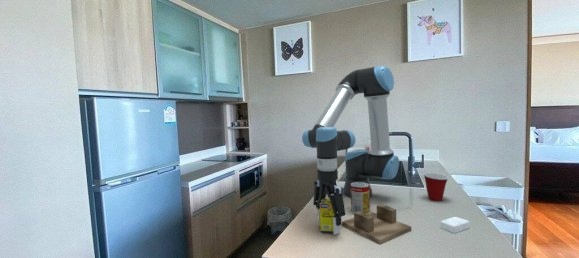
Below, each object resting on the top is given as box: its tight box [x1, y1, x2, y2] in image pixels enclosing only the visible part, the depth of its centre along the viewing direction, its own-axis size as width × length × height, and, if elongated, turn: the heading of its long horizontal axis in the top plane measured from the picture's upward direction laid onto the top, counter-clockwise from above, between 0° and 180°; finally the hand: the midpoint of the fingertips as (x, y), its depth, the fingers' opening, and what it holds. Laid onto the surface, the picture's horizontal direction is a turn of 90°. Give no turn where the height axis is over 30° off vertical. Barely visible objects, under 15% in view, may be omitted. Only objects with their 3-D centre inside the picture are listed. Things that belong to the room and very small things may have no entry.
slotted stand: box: [341, 204, 412, 245], centre depth 97 cm, size 18×17×6 cm
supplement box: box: [319, 198, 335, 234], centre depth 97 cm, size 6×6×11 cm
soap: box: [439, 216, 470, 234], centre depth 95 cm, size 9×6×3 cm, turn 114°
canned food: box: [350, 182, 371, 214], centre depth 114 cm, size 8×8×12 cm
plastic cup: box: [423, 172, 450, 202], centre depth 125 cm, size 11×11×12 cm
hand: (329, 228), depth 97 cm, fingers closed on supplement box, 8 cm apart
